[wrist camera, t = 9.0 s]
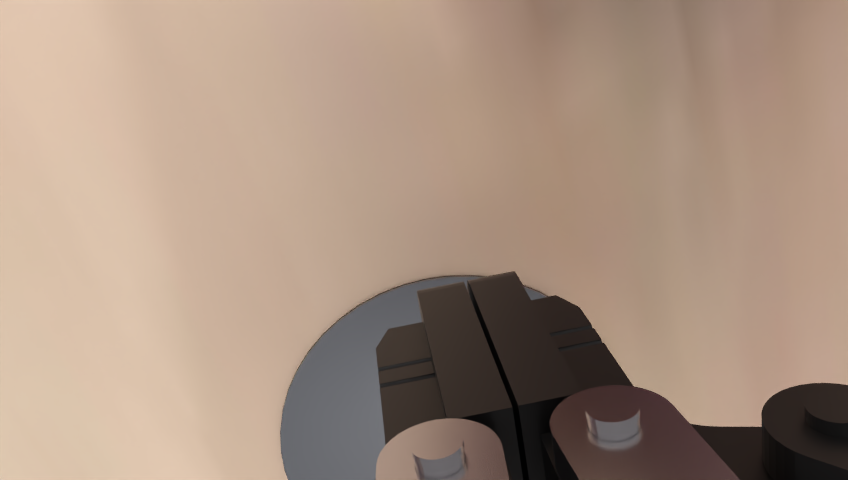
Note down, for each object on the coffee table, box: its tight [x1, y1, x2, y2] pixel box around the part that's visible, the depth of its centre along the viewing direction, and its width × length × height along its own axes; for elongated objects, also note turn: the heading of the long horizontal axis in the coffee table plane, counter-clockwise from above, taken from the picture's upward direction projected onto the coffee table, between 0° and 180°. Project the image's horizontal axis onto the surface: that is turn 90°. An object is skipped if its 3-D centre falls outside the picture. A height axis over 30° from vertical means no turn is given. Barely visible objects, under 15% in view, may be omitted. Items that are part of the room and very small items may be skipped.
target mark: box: [280, 276, 547, 480], centre depth 30 cm, size 13×13×1 cm
